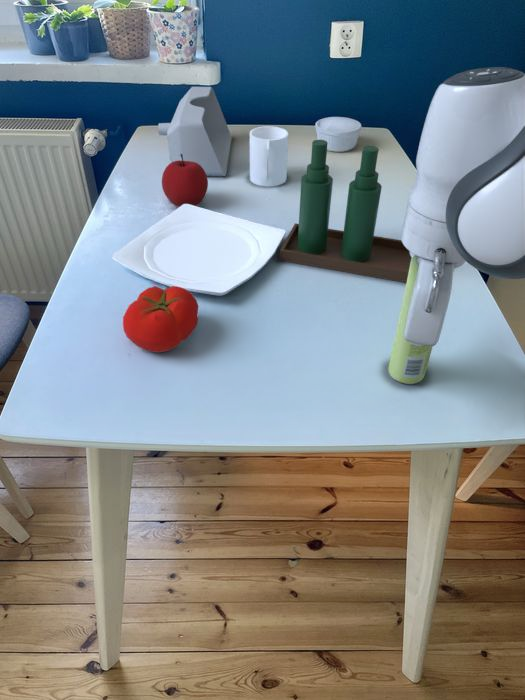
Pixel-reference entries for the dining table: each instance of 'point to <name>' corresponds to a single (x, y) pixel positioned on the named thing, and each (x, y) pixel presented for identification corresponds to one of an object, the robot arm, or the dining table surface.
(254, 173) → the cup
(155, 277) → the plate
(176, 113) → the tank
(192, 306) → the tomato
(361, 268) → the tray
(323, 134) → the ramekin
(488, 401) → the dining table surface
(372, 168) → the bottle
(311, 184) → the bottle
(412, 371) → the tube
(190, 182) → the apple
